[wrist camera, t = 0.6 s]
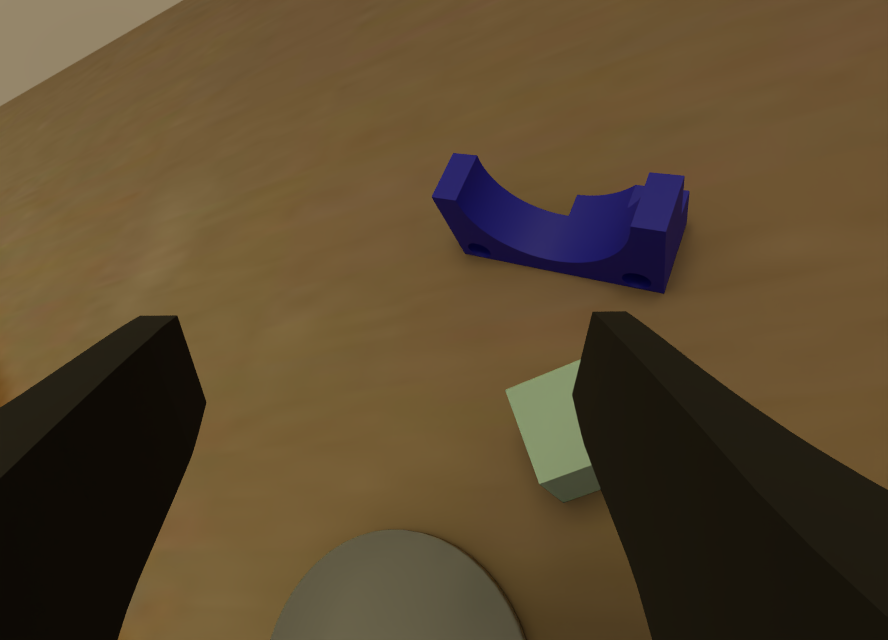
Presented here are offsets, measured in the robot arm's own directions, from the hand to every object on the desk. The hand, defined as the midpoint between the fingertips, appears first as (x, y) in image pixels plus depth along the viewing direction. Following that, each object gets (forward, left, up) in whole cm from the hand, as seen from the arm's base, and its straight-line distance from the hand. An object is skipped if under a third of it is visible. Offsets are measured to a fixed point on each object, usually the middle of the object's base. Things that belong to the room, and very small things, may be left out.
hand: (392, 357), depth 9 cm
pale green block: (+1, -2, -18) cm, 18 cm away
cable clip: (+13, -6, -19) cm, 24 cm away
